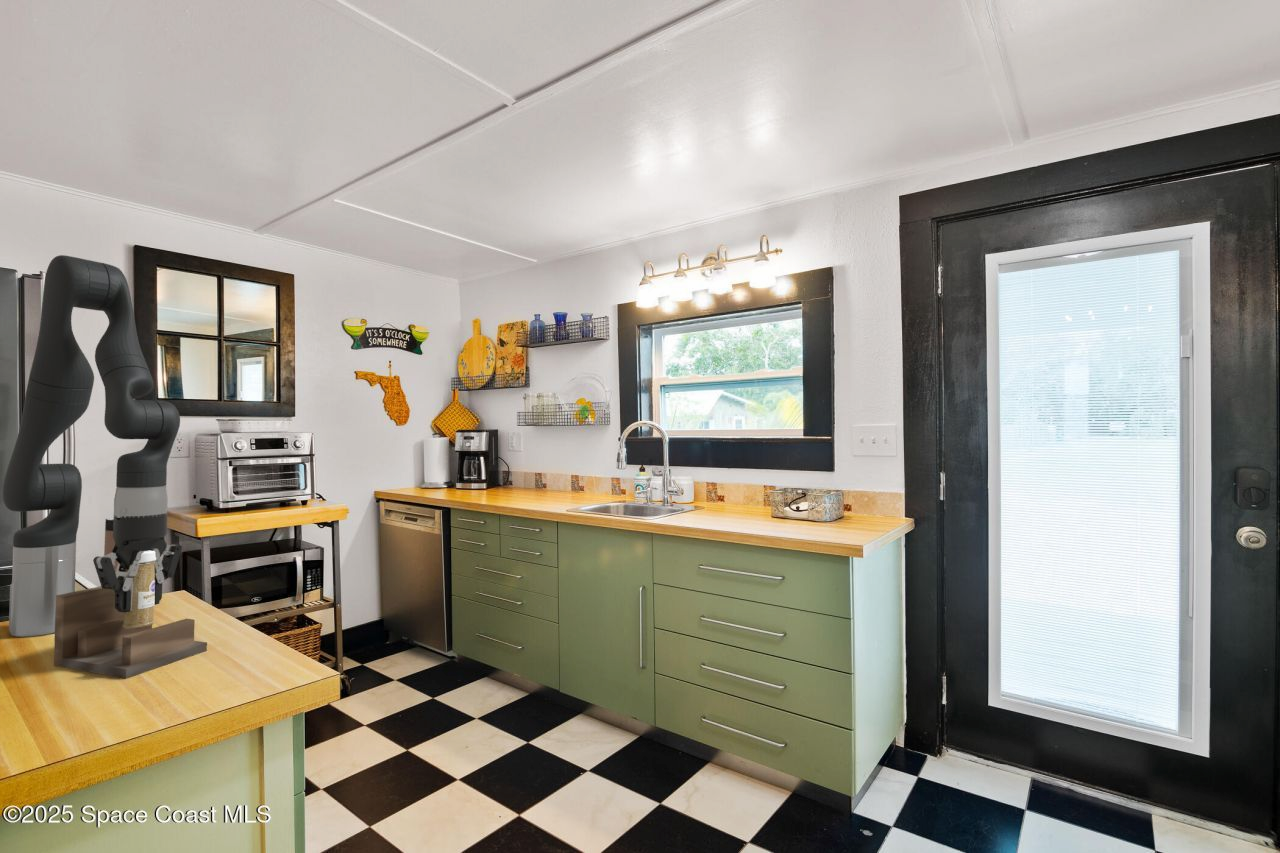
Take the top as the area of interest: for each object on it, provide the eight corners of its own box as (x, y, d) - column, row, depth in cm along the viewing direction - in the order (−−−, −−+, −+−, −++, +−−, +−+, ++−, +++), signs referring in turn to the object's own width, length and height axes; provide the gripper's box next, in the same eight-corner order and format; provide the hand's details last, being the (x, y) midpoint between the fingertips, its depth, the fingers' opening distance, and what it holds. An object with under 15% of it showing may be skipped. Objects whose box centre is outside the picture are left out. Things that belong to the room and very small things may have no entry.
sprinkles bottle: (153, 627, 111) (155, 551, 111) (120, 631, 109) (122, 553, 109) (155, 620, 115) (157, 547, 115) (123, 624, 113) (125, 549, 113)
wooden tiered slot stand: (53, 665, 108) (55, 595, 108) (139, 640, 121) (141, 577, 121) (126, 678, 103) (128, 605, 103) (206, 650, 116) (208, 585, 117)
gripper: (165, 506, 120) (163, 596, 120) (80, 515, 106) (78, 617, 106) (195, 508, 118) (193, 599, 118) (112, 517, 104) (110, 621, 104)
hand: (138, 607), depth 112 cm, fingers closed on sprinkles bottle, 4 cm apart
